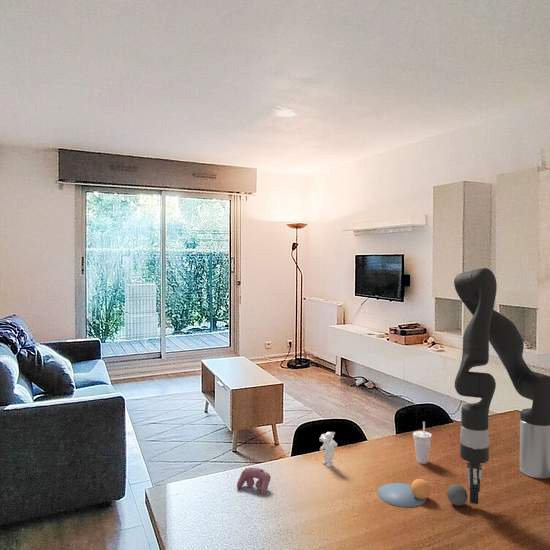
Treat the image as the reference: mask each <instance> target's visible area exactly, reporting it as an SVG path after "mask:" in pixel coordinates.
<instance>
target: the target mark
mask: <svg viewBox="0 0 550 550" xmlns="http://www.w3.org/2000/svg"><path fill="white" fill-rule="evenodd" d="M411 485H412V484H411ZM411 485H410V484H407V483H401V482H392V483H390V482H389V483H386V484H383V485H381V486H380V487H379V488H378V489H377V495H378V497H379V498H380V499H381V500H382V501H384V502H385V503H387V504H389V505H392V506H395V507H399V508H416V506H417V507H420V506H422V505H424V504H425V502H426V501H427V498H426V499H418V498H416V497H415V496H414V495H413V494H412V491H411Z"/></svg>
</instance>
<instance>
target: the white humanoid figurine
mask: <svg viewBox="0 0 550 550" xmlns="http://www.w3.org/2000/svg"><path fill="white" fill-rule="evenodd" d="M335 435H336V432H335V431H327V432H326V433H322V434H321V435H320V437H319V442H322V446H320V448H319V451H321V452H322V451H324V454H323V458H324V459H323V461H322V464H323V465H325V466H326V467H327V468H332V467H333V466H334V464H333V463H334V462H333V460H334V458H335V457H334V456H335V455H334V454H335V450H336V449H337V448H338V443H337V442H336V441H335V440H334V439H333V438H334V437H335ZM332 459H333V460H332Z"/></svg>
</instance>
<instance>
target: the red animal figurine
mask: <svg viewBox="0 0 550 550" xmlns="http://www.w3.org/2000/svg"><path fill="white" fill-rule="evenodd" d="M271 477H272V476H271V475H270V473H269V472H267V471H265V470H264V469H262V468H259V467H246V468H245V469H243V470H242V472H241V474H240V475H239V478H238V480H237V483H236V488H237V490H241V489H242V487H243V486H244V485H245V483H246V485H247V487H250V488H251V487H254V485H255V488H256V489H258V490H260V494H261V495H262V496H263V495H265V494H266V492H267V490H268V487H269V485H270V482H271ZM254 479H257V481H255V480H254Z"/></svg>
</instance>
